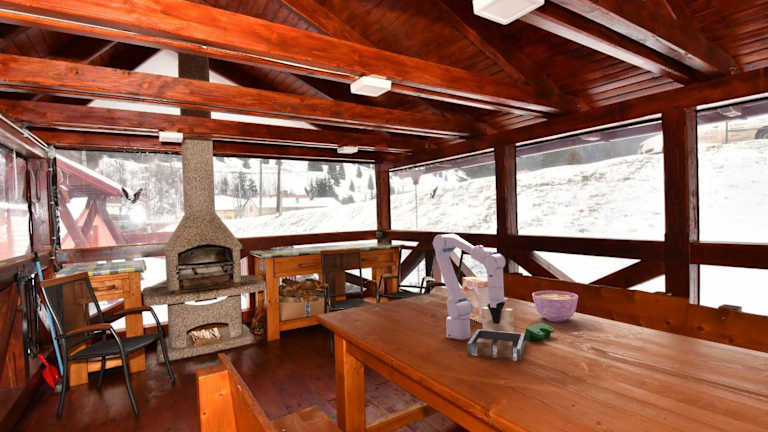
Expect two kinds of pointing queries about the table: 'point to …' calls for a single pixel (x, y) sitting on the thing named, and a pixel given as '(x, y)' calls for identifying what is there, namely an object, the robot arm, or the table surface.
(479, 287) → the coffeecake box
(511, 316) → the birch block
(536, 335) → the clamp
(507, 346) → the offcut right
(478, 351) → the offcut left
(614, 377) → the table surface
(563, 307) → the bowl of food
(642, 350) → the table surface
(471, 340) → the tray
